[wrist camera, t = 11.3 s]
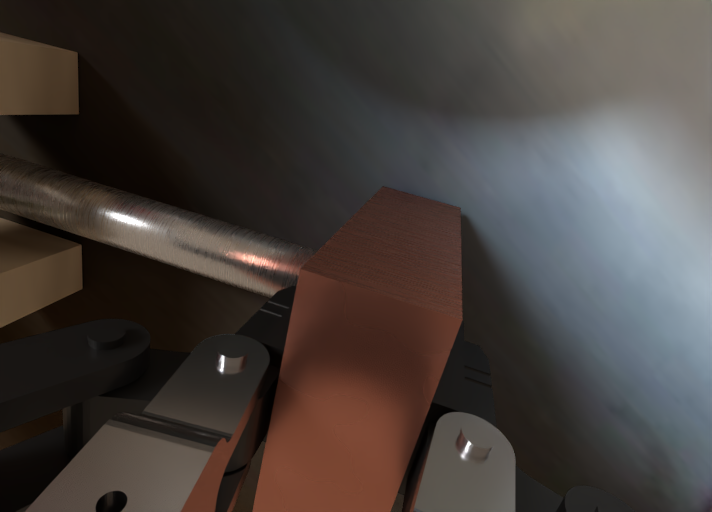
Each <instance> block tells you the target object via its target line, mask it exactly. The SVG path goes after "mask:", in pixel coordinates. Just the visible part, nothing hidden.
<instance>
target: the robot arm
mask: <svg viewBox="0 0 712 512" xmlns="http://www.w3.org/2000/svg"><path fill="white" fill-rule="evenodd" d="M296 287H297V286H294V285H293V286H290V287H287V288H285V289H282V290H279V291H277V292H276V293H275V294H274V295H273V296H272V297H271V298H270V299H269V301H268V302H266V303H265V304H264V305H263V306H262V307H261V309H260V310H258V311H257V312H256V313H255V314H254V315H253V316H252V317H251V318H250V319H249V320H248V321H247V322H246V323H245V324H244V325H243V326H242V327H241V328H240V329H239V330H238V331H237V332H236V333H235V334H223V335H217V336H213V337H210V338H208V339H206V340H204V341H202V342H201V343H199V344H198V345H197V346H196V348H195V349H194V350H193V351H192V352H191V353H185V352H174V351H165V350H157V349H150V334H149V332H148V331H147V329H146V328H144V327H143V326H142V325H140V324H138V323H135V322H132V321H128V320H123V319H102V320H95V321H91V322H87V323H83V324H79V325H75V326H71V327H66V328H62V329H58V330H54V331H50V332H46V333H42V334H38V335H34V336H30V337H26V338H22V339H18V340H14V341H10V342H6V343H2V344H0V432H3V431H5V430H8V429H11V428H13V427H16V426H19V425H21V424H24V423H27V422H29V421H32V420H35V419H37V418H40V417H43V416H45V415H48V414H51V413H53V412H56V411H59V410H61V409H63V426H60V427H58V428H55V429H53V430H50V431H48V432H45V433H43V434H40V435H38V436H35V437H33V438H30V439H28V440H25V441H23V442H20V443H18V444H15V445H13V446H10V447H8V448H5V449H3V450H0V512H232V510H233V508H234V505H235V503H236V501H237V498H238V496H239V493H240V491H241V488H242V486H243V484H244V481H245V479H246V476H247V474H248V471H249V468H250V464H251V459H252V457H253V456H254V454H255V453H256V451H257V449H258V448H259V446H260V444H261V442H262V441H264V442H266V440H267V435H268V430H269V425H270V420H271V415H272V409H273V404H274V399H275V394H276V389H277V384H278V379H279V374H280V369H281V363H282V358H283V353H284V348H285V343H286V338H287V333H288V328H289V322H290V317H291V312H292V307H293V302H294V297H295V292H296ZM491 386H492V384H491V377H490V367H489V360H488V358H487V357H486V355H485V354H484V352H483V351H482V349H481V348H480V347H479V346H478V345H475V344H472V343H469V342H466V341H464V322H463V320H462V322H461V325H460V328H459V330H458V333H457V336H456V338H455V341H454V344H453V346H452V349H451V352H450V354H449V357H448V360H447V362H446V365H445V368H444V370H443V373H442V376H441V378H440V381H439V384H438V386H437V389H436V392H435V394H434V397H433V400H432V402H431V405H430V408H429V410H428V413H427V416H426V418H425V421H424V424H423V426H422V429H421V431H420V434H419V437H418V439H417V442H416V445H415V447H414V450H413V453H412V455H411V458H410V461H409V463H408V466H407V469H406V471H405V474H404V477H403V479H402V482H401V485H400V487H399V490H398V493H400V494H402V495H404V502H403V509H402V512H635V511H634V510H633V509H632V508H631V507H629V506H628V505H627V504H626V503H624V502H623V501H621V500H620V499H618V498H617V497H615V496H613V495H611V494H610V493H608V492H605V491H603V490H601V489H598V488H595V487H591V486H575V487H573V488H571V489H570V490H569V491H568V492H567V494H566V495H565V497H564V498H563V497H561V496H559V495H558V494H556V493H555V492H553V491H551V490H550V489H548V488H547V487H545V486H543V485H542V484H540V483H538V482H537V481H535V480H534V479H532V478H531V477H529V476H528V475H527V474H525V473H524V472H523V471H522V470H520V469H519V468H518V467H517V466H516V465H515V454H514V451H513V448H512V446H511V444H510V443H509V441H508V440H507V438H506V437H505V436H504V435H503V434H502V433H501V432H500V431H499V430H498V429H497V426H496V417H495V409H494V401H493V392H492V388H491Z"/></svg>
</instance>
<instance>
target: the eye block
mask: <svg viewBox="0 0 712 512" xmlns="http://www.w3.org/2000/svg"><path fill="white" fill-rule="evenodd" d="M54 114H79V93H78V52H74V51H70V50H67V49H63V48H59V47H55V46H51V45H47V44H44V43H40V42H36V41H32V40H28V39H24V38H21V37H17V36H13V35H9V34H5V33H1V32H0V115H54ZM81 289H83V286H82V245H81V244H78V243H75V242H72V241H69V240H66V239H63V238H60V237H57V236H54V235H51V234H48V233H45V232H42V231H39V230H36V229H33V228H30V227H27V226H24V225H21V224H18V223H15V222H12V221H9V220H6V219H3V218H0V328H1V327H3V326H5V325H7V324H10V323H12V322H14V321H16V320H18V319H20V318H22V317H24V316H26V315H29V314H31V313H33V312H35V311H37V310H39V309H41V308H43V307H45V306H48V305H50V304H52V303H54V302H56V301H58V300H60V299H62V298H64V297H67V296H69V295H71V294H73V293H75V292H77V291H79V290H81Z"/></svg>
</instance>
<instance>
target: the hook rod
mask: <svg viewBox="0 0 712 512" xmlns="http://www.w3.org/2000/svg"><path fill="white" fill-rule="evenodd" d="M0 209H1V210H4V211H7V212H10V213H13V214H16V215H19V216H22V217H25V218H28V219H31V220H34V221H37V222H40V223H43V224H46V225H49V226H52V227H55V228H59V229H62V230H65V231H68V232H71V233H74V234H77V235H80V236H83V237H86V238H89V239H92V240H95V241H98V242H101V243H104V244H107V245H110V246H113V247H116V248H119V249H122V250H125V251H128V252H132V253H135V254H138V255H141V256H144V257H147V258H150V259H153V260H156V261H159V262H162V263H165V264H168V265H171V266H174V267H177V268H180V269H183V270H186V271H189V272H192V273H195V274H198V275H201V276H204V277H208V278H211V279H214V280H217V281H220V282H223V283H226V284H229V285H232V286H235V287H238V288H241V289H244V290H247V291H250V292H253V293H256V294H259V295H262V296H265V297H268V298H271V297H272V296H273V295H274V294H275V293H276V292H277V291H279V290H282V289H285V288H287V287H290V286H293V285H294V286H297V287H296V292H295V297H294V302H293V307H292V312H291V317H290V322H289V328H288V333H287V338H286V343H285V348H284V353H283V358H282V363H281V369H280V374H279V379H278V384H277V389H276V394H275V399H274V404H273V409H272V415H271V420H270V425H269V430H268V435H267V440H266V445H265V450H264V456H263V461H262V466H261V471H260V476H259V481H258V486H257V491H256V496H255V502H254V507H253V512H390V511H391V509H392V506H393V503H394V501H395V498H396V495H397V493H398V490H399V487H400V485H401V482H402V479H403V477H404V474H405V471H406V469H407V466H408V463H409V461H410V458H411V455H412V453H413V450H414V447H415V445H416V442H417V439H418V437H419V434H420V431H421V429H422V426H423V424H424V421H425V418H426V416H427V413H428V410H429V408H430V405H431V402H432V400H433V397H434V394H435V392H436V389H437V386H438V384H439V381H440V378H441V376H442V373H443V370H444V368H445V365H446V362H447V360H448V357H449V354H450V352H451V349H452V346H453V344H454V341H455V338H456V336H457V333H458V330H459V328H460V325H461V322H462V268H461V208H459V207H455V206H452V205H448V204H445V203H441V202H438V201H434V200H430V199H427V198H423V197H420V196H416V195H413V194H409V193H405V192H402V191H398V190H395V189H391V188H387V187H384V186H383V187H382V188H381V189H380V190H379V191H378V192H377V193H376V194H375V195H374V196H373V197H372V198H371V199H370V200H369V201H368V202H367V203H366V204H365V205H364V206H363V207H362V208H361V209H360V210H359V211H358V212H357V213H356V214H355V215H354V216H353V217H352V218H351V219H350V220H349V221H348V222H347V223H346V224H345V225H344V226H343V227H342V228H341V229H340V230H339V231H338V232H337V233H336V234H335V235H334V236H332V237H331V238H330V239H329V240H328V241H327V242H326V243H325V244H324V245H323V246H322V247H321V248H320V249H319V250H315V249H311V248H308V247H305V246H302V245H298V244H295V243H292V242H289V241H285V240H282V239H279V238H276V237H272V236H269V235H266V234H263V233H259V232H256V231H253V230H250V229H246V228H243V227H240V226H236V225H233V224H230V223H227V222H223V221H220V220H217V219H214V218H210V217H207V216H204V215H201V214H197V213H194V212H191V211H188V210H184V209H181V208H178V207H175V206H171V205H168V204H165V203H162V202H158V201H155V200H152V199H149V198H145V197H142V196H139V195H136V194H132V193H129V192H126V191H123V190H119V189H116V188H113V187H110V186H106V185H103V184H100V183H97V182H93V181H90V180H87V179H84V178H80V177H77V176H74V175H71V174H67V173H64V172H61V171H58V170H54V169H51V168H48V167H45V166H41V165H38V164H35V163H32V162H28V161H25V160H22V159H18V158H15V157H12V156H9V155H5V154H2V153H0Z"/></svg>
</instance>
